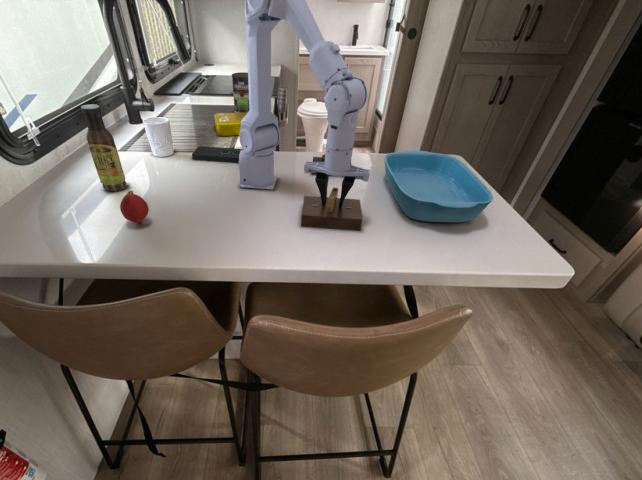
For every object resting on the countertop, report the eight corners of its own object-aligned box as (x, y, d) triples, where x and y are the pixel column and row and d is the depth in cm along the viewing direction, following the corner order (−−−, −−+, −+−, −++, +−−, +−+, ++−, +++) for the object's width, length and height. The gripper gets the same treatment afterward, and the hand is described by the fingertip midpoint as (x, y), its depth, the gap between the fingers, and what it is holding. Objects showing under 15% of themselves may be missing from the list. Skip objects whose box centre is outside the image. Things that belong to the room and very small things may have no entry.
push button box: (311, 174, 101) (312, 161, 98) (312, 163, 107) (313, 150, 104) (350, 177, 100) (353, 164, 97) (349, 166, 107) (351, 153, 104)
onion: (137, 232, 75) (126, 199, 69) (120, 224, 77) (108, 192, 72) (157, 221, 79) (148, 189, 73) (140, 214, 81) (130, 182, 75)
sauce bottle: (100, 192, 88) (68, 109, 75) (108, 182, 93) (79, 102, 79) (124, 192, 89) (97, 109, 75) (131, 182, 93) (106, 102, 80)
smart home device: (252, 158, 104) (191, 154, 106) (252, 164, 106) (191, 159, 107) (257, 149, 110) (199, 145, 112) (257, 154, 112) (199, 150, 113)
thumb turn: (332, 212, 78) (334, 197, 75) (326, 211, 78) (328, 196, 75) (336, 202, 82) (338, 187, 79) (331, 201, 82) (332, 186, 79)
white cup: (180, 152, 111) (174, 119, 104) (162, 159, 106) (154, 125, 100) (164, 147, 114) (157, 115, 107) (145, 154, 109) (137, 121, 102)
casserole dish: (373, 170, 104) (378, 146, 100) (444, 172, 105) (452, 149, 100) (400, 232, 78) (408, 204, 73) (495, 235, 78) (509, 208, 73)
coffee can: (254, 115, 146) (252, 77, 136) (231, 113, 147) (228, 76, 137) (259, 109, 153) (258, 73, 144) (238, 107, 154) (235, 71, 145)
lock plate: (300, 226, 79) (301, 214, 76) (303, 206, 86) (304, 194, 84) (360, 230, 78) (362, 218, 76) (357, 210, 85) (359, 198, 83)
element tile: (256, 135, 126) (256, 121, 123) (217, 136, 124) (215, 122, 120) (251, 123, 137) (251, 110, 134) (214, 124, 134) (213, 111, 131)
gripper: (375, 144, 72) (364, 202, 81) (310, 136, 74) (306, 193, 84) (372, 155, 67) (360, 216, 76) (303, 146, 69) (299, 206, 79)
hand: (332, 205), depth 80 cm, fingers open, 3 cm apart
